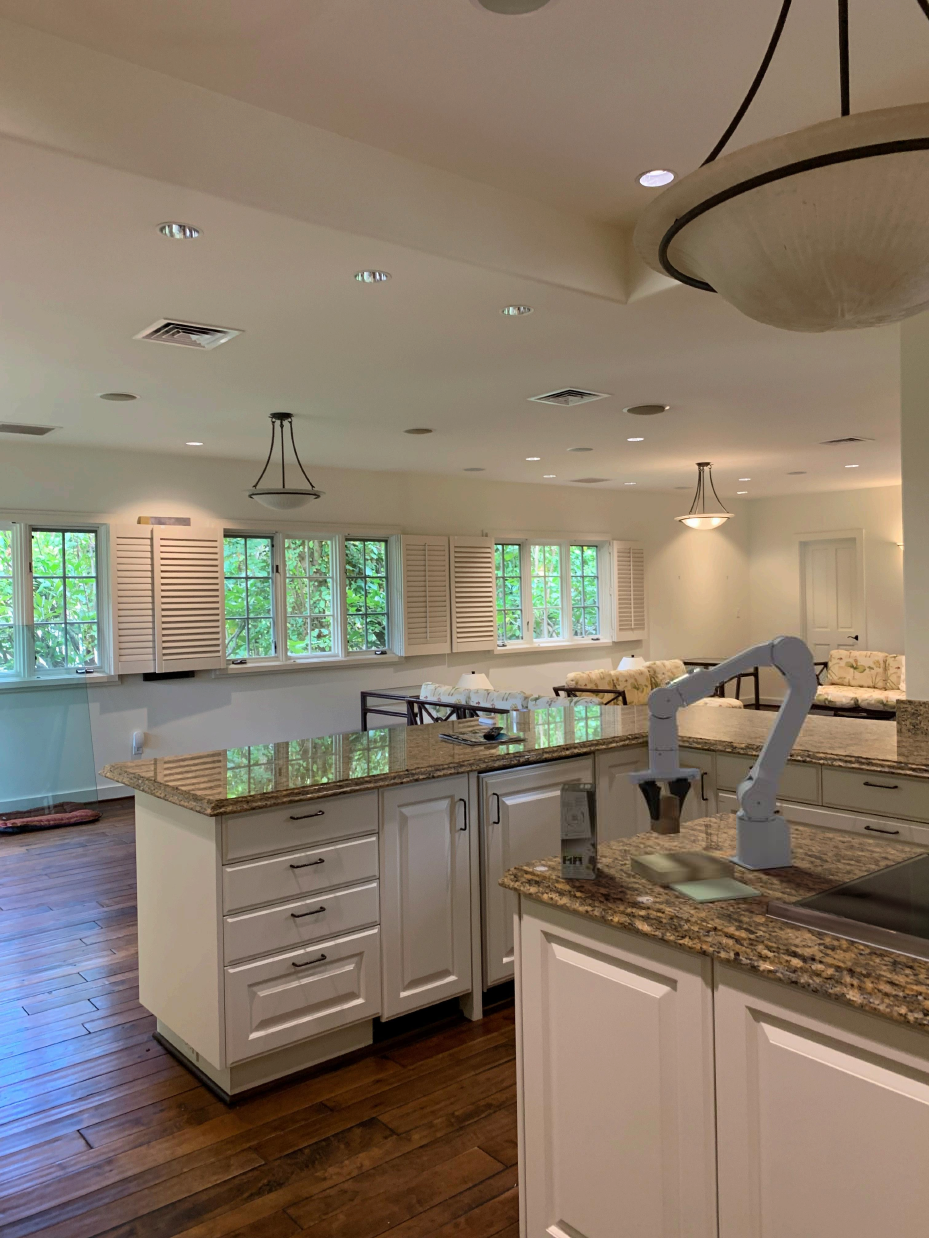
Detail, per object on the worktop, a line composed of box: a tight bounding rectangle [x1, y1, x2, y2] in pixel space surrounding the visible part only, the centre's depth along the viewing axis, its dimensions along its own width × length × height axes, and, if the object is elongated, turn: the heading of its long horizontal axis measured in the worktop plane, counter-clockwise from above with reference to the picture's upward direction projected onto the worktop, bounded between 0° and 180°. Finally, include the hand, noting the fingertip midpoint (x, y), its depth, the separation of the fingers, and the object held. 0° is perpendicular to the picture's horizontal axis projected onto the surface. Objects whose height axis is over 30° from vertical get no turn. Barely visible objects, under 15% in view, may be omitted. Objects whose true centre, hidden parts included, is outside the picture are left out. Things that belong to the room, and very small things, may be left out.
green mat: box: [668, 877, 762, 904], centre depth 152 cm, size 12×10×1 cm
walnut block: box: [650, 793, 681, 836], centre depth 172 cm, size 4×4×7 cm
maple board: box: [630, 849, 736, 888], centre depth 162 cm, size 15×11×2 cm
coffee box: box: [559, 782, 599, 881], centre depth 165 cm, size 9×6×16 cm
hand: (665, 818), depth 172 cm, fingers closed on walnut block, 4 cm apart
